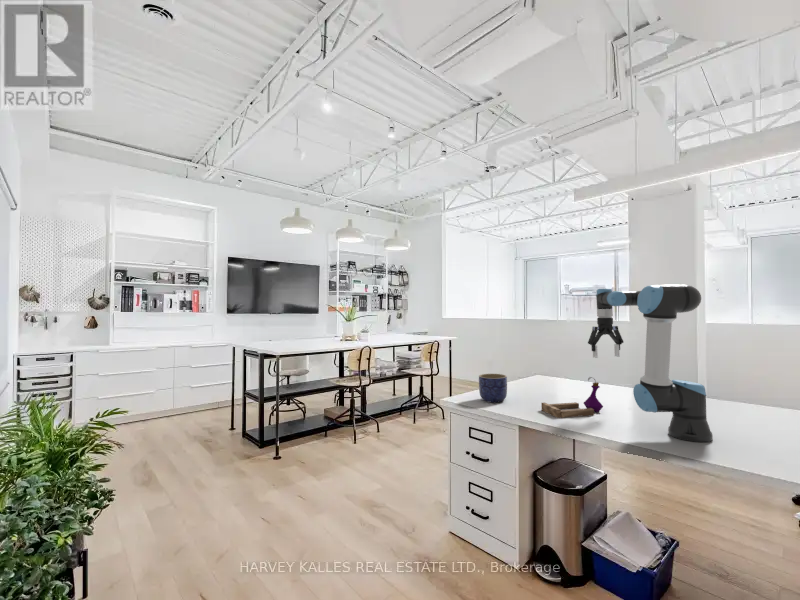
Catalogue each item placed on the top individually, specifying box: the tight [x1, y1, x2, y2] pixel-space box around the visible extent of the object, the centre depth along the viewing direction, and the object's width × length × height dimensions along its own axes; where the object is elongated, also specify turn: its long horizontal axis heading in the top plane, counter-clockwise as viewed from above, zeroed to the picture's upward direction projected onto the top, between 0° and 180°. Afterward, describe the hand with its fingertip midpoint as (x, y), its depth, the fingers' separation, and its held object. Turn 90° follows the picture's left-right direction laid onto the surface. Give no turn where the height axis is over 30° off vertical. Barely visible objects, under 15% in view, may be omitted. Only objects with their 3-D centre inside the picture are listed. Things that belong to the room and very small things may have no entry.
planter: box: [478, 373, 508, 404], centre depth 235 cm, size 17×16×15 cm
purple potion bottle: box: [583, 376, 604, 413], centre depth 208 cm, size 8×8×18 cm
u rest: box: [541, 402, 595, 419], centre depth 206 cm, size 15×20×4 cm
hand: (606, 357), depth 210 cm, fingers open, 12 cm apart
